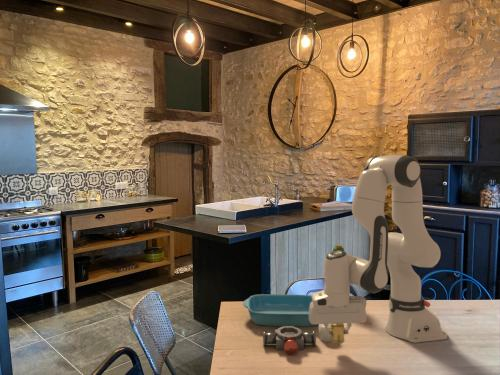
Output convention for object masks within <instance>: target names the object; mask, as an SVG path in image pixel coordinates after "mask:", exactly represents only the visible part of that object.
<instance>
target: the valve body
mask: <svg viewBox="0 0 500 375" xmlns="http://www.w3.org/2000/svg"><path fill="white" fill-rule="evenodd" d="M262 344H263V346H266V345H275V349H276V351H284V352H285V353H286V354H287V355H291V356H292V355H295V354H296V353H297V352H298V351H304V350H305V347H304V346H305V345H312V346H316V344H317V338H316V331H315V330H312V331H311V332H309V331H308V332H307V331H306V332H305V331H304V332H302V329H300V328H299V327H297V326H279V328H277V329H274V332H266V331H263V332H262Z"/></svg>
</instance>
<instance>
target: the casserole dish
mask: <svg viewBox="0 0 500 375" xmlns="http://www.w3.org/2000/svg"><path fill="white" fill-rule="evenodd" d="M311 302H312V294H311V295H309V294H274V293H273V294H272V293H270V294H267V293H266V294H264V293H261V294H254V295H250V296H249V297H248V298H246V299H245V300H244V301H243V303H242V305H243V307H244V308H246V309H247V310H248V313H249V316H250V319H251V321H252V322H253V323H255V324H256V325H258V326H267V327H268V326H269V327H270V326H271V327H284V326H292V327H293V326H294V327H314V326H319V324H311V323H310V321H309V306H310V303H311Z"/></svg>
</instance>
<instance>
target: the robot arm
mask: <svg viewBox="0 0 500 375" xmlns="http://www.w3.org/2000/svg"><path fill="white" fill-rule="evenodd" d="M421 172H422V168H421V164H420V163H419V161H418V159H417V158H416V157H413V156H411V155H399V154H390V155H375V156H372V157H369V158H368V159H367V161H366V162H365V164H364V167H363V171H362V172H361V173H360V174H359V177H358V180H357V182H356V186H355V189H354V193H353V197H352V198H353V199H352V202H351V213H352V215H353V217H354V219H355V220H356V221H357V222H358V223H359V224H360V225H362V226H363V227H364V228H365V230H366V231H367V232H368V234H369V239H370V245H369V259H368V260H367V259H364V258H363V257H359V256H356V255H351V254H349V253H347V252H346V251H345V250H344V251H341V250H337V251H333V250H331V251H329V252H328V253H327V254H326V255H325V257H324V262H323V279H324V287H323V289H322V290H319V291H317V292H314V293H312V294H311V295H312V302H311V303H310V306H309V321H310V323H311V324H318V325H319V324H324V327H325V328H326V330H327V335H332V330H331V328H328V327H327V326H328V324H336V323H343V324H346V326H345V327H344V335H349V332H350V331H349V330H350V328H351V327H352V324H358V323H360V324H361V323H366V321H367V317H368V316H367V310H366V307H367V299H366V298H365V297H364V296H362V295H357V296H355V295H352V296H351V295H350V293H351V290H350V286H351V285H354V286H358V287H360V288H361V289H363V290H364V291H366V292H368V293H370V294H377V293H379V292H381V291H383V290H384V289H385V288H386V287H387V285H388V283H389V277H390V294H389V301H388V307H389V309H388V310H389V315H388V318H387V324H386V326H385V331H386V332H387V333H388V334H389V335H391V336H393V337H396V338H398V339H402V340H405V341H408V342H410V343H412V344H413V343H423V342H424V343H425V342H431V341H441V340H442V341H443V340H447V339H448V334H447V332H446V330H445V329H444V328H443V327H442V326H441V321H440V320H439V318H438V317H437V315H435V314H434V313H433V312H431V311H430V310H429V309H428V308H430V307H431V303H430V302H429V301H428V300H425V299H424V298H423V297H421V296H422V280H421V277H420V276H419V274H417V273H416V272H415V270H414V268H413V267H412V266H415V267H417V268H434V267H435V266H436V265H437V264H438V263H439V261H440V259H441V249H440V247H439V245H438V243H437V242H435V241H434V240H433V238H432V237H431V236H430V234H429V232H428V230H427V228H426V226H425V221H424V214H423V210H424V209H423V202H424V201H423V188H422V182H421V175H422V174H421ZM389 186H391V187H392V189H391V190H392V191H391V220H392V222H393V223H395V225H396V226H397V227H398V228H399V229H400V231H401V233H399V232H396V231H395V232H391V231H390V232H389V223H388V220H387V219H386V216H385V202H386V196H387V188H388V187H389Z"/></svg>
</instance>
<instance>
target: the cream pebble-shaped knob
mask: <svg viewBox="0 0 500 375" xmlns="http://www.w3.org/2000/svg"><path fill="white" fill-rule="evenodd" d="M327 327H328V328H331V324H328V326H327ZM318 339H319V340H320V341H321V342H324V343H331V342H332V341H331V335H327V330H326V328H325V327H324V324H318ZM332 343H333V342H332Z"/></svg>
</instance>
